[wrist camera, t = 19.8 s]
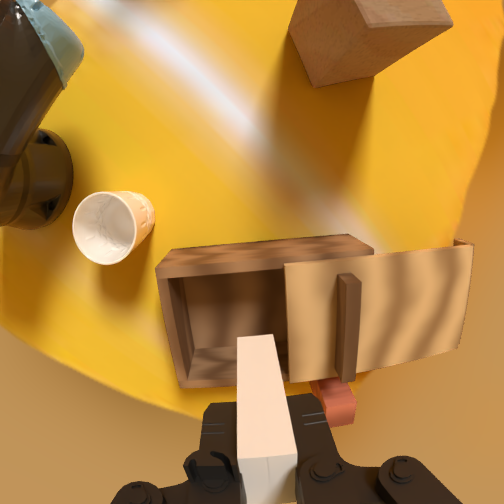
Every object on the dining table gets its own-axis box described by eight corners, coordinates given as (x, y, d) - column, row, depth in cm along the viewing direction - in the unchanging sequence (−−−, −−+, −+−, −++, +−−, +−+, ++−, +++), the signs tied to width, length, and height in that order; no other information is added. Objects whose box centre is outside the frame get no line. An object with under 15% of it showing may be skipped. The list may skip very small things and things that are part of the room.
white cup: (160, 245, 42) (138, 266, 32) (108, 244, 41) (75, 264, 32) (159, 186, 40) (135, 190, 30) (105, 188, 39) (70, 193, 30)
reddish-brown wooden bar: (308, 358, 47) (326, 407, 35) (333, 354, 47) (356, 402, 35) (308, 378, 48) (324, 428, 36) (332, 374, 48) (353, 423, 36)
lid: (285, 363, 40) (293, 399, 33) (279, 255, 36) (289, 275, 29) (447, 333, 40) (474, 357, 33) (458, 238, 37) (493, 251, 29)
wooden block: (375, 76, 37) (457, 26, 18) (312, 89, 37) (368, 29, 18) (349, 18, 35) (408, -55, 15) (286, 28, 35) (317, -58, 16)
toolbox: (189, 352, 46) (180, 388, 37) (171, 249, 42) (154, 268, 33) (346, 336, 46) (366, 368, 37) (348, 233, 42) (373, 248, 33)
